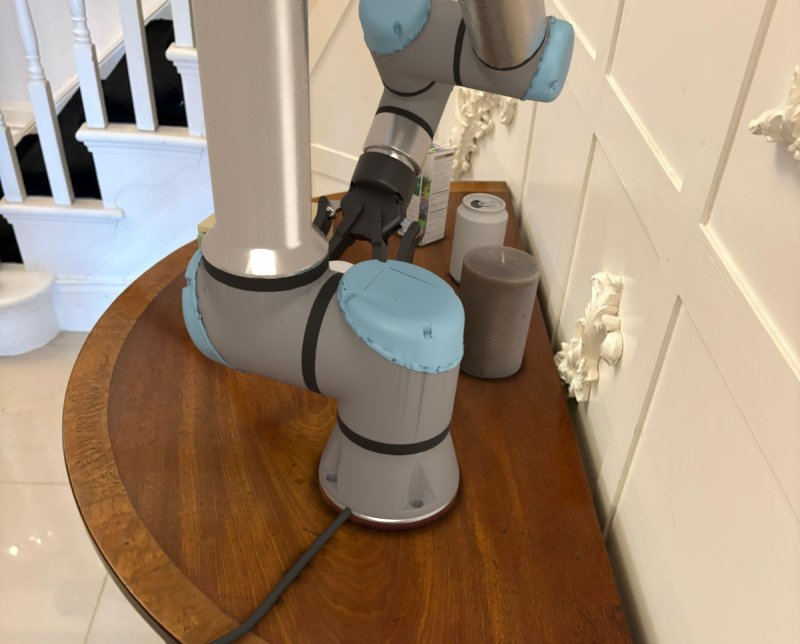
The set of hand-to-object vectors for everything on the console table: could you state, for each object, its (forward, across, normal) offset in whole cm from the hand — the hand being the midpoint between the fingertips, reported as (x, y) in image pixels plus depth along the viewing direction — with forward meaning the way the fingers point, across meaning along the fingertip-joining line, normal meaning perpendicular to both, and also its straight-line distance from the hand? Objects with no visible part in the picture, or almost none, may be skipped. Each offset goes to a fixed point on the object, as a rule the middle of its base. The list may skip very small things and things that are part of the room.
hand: (323, 346), depth 95 cm
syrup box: (-28, +7, -36) cm, 46 cm away
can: (-22, -6, -29) cm, 37 cm away
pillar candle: (-7, -16, -15) cm, 23 cm away
